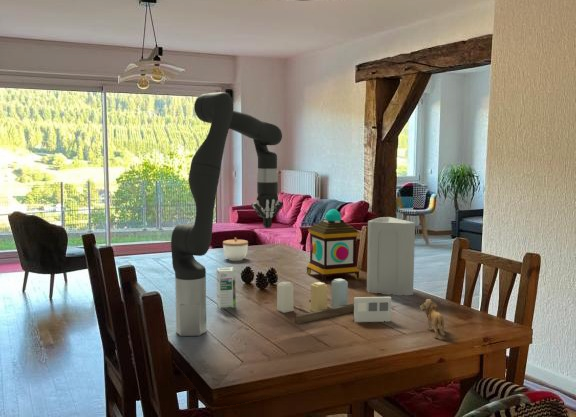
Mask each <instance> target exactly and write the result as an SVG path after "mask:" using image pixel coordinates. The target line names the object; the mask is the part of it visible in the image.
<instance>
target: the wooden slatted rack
mask: <svg viewBox="0 0 576 417" xmlns="http://www.w3.org/2000/svg"><path fill="white" fill-rule="evenodd" d="M308 302H309V303H311V299H309V301H308ZM293 309H294V310H295V309H296V310H297V311H301V312H303V313H301V314H296V315H294V323H295V324H297V325H298V324H303V323H307V322H311V321H317V320H321V319H325V318H331V317H334V316H338V315H339V316H340V315H344V314H349V313H354V303H350V304H347V305H344V306H339V307H332V306H329V305H327V309H324V310H320V311H315V312H313V311H311V310H307V309H305V308H302V307H300V306H297V305H295V304H293Z"/></svg>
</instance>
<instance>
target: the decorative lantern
mask: <svg viewBox="0 0 576 417" xmlns="http://www.w3.org/2000/svg"><path fill="white" fill-rule="evenodd" d="M324 216H325V217H324V218H323V219H322V220H321V221H319V222H318V223H317V224H312V226H309V228H308V229H307V231H308V233H309V238H310V239H309V244H310V245H309V247H310V248H309V252H310V253H309V258H310V259H309V263H308V264H307V266H306V273H307V274H308V275H311V273H312V272H314V273H316V274H318V275H320V276H321V280H322V283H325V282H326V278H327V276H328V277H329V276H340V275H349V274H354V278H355V280H358V279H359V277H360V271H359V268H358V267H357V266H358V265H357V238H358V236H359V233H360V231H358V230H357V229H356V228H355V227H354V226H351V225H350V224H348V223H347V222H345V220H343V219H342V215H341V213H340V211H338V210H337V209H336V208H335V209H334V208H332V209H329V210H328V211H327V212H326V213H325V215H324Z"/></svg>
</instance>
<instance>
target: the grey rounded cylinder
mask: <svg viewBox="0 0 576 417" xmlns="http://www.w3.org/2000/svg"><path fill="white" fill-rule="evenodd" d="M348 287H349V282H348V281H347V280H346V279H343V278H334V279H333V280H331V292H330V293H331V294H330V295H331V298H330V299H331V301H330V304H331V306H330V307H332V308H334V307H339V306H344V305H349V304H348V298H349V297H348V295H349V294H348V292H349V288H348Z"/></svg>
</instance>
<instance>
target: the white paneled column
mask: <svg viewBox="0 0 576 417" xmlns="http://www.w3.org/2000/svg"><path fill="white" fill-rule="evenodd" d="M415 232H416V222H414V221H408V220H404V219H400V218H397V217H391V216H386V217H385V216H383V217H381V216H380V217H377V218H374V219H371V220H368V221H367V257H366V258H367V261H366V262H367V263H366V264H367V265H366V268H367V269H366V275H367V276H366V292H367V291H368V292H367V293H369V292H371V293H370V294H377V293H382V294H381V295H390V294H393V295H392V296H402V295H405V296H411V295H412V296H413V295H414V278H415V276H414V275H415V274H414V272H415V239H416V236H415V234H416V233H415Z"/></svg>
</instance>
